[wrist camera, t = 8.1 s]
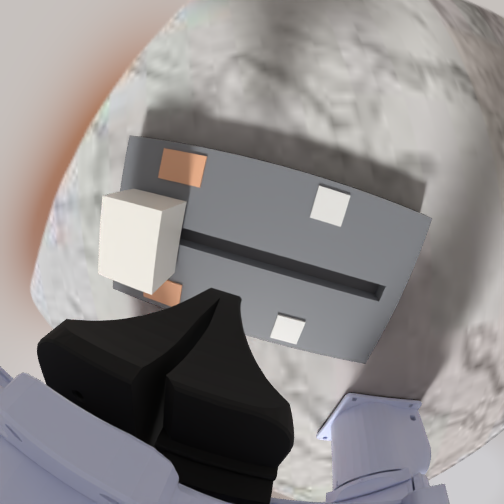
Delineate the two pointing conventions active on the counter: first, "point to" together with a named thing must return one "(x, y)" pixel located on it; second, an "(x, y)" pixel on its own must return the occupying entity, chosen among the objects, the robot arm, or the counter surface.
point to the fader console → (281, 246)
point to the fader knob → (139, 238)
